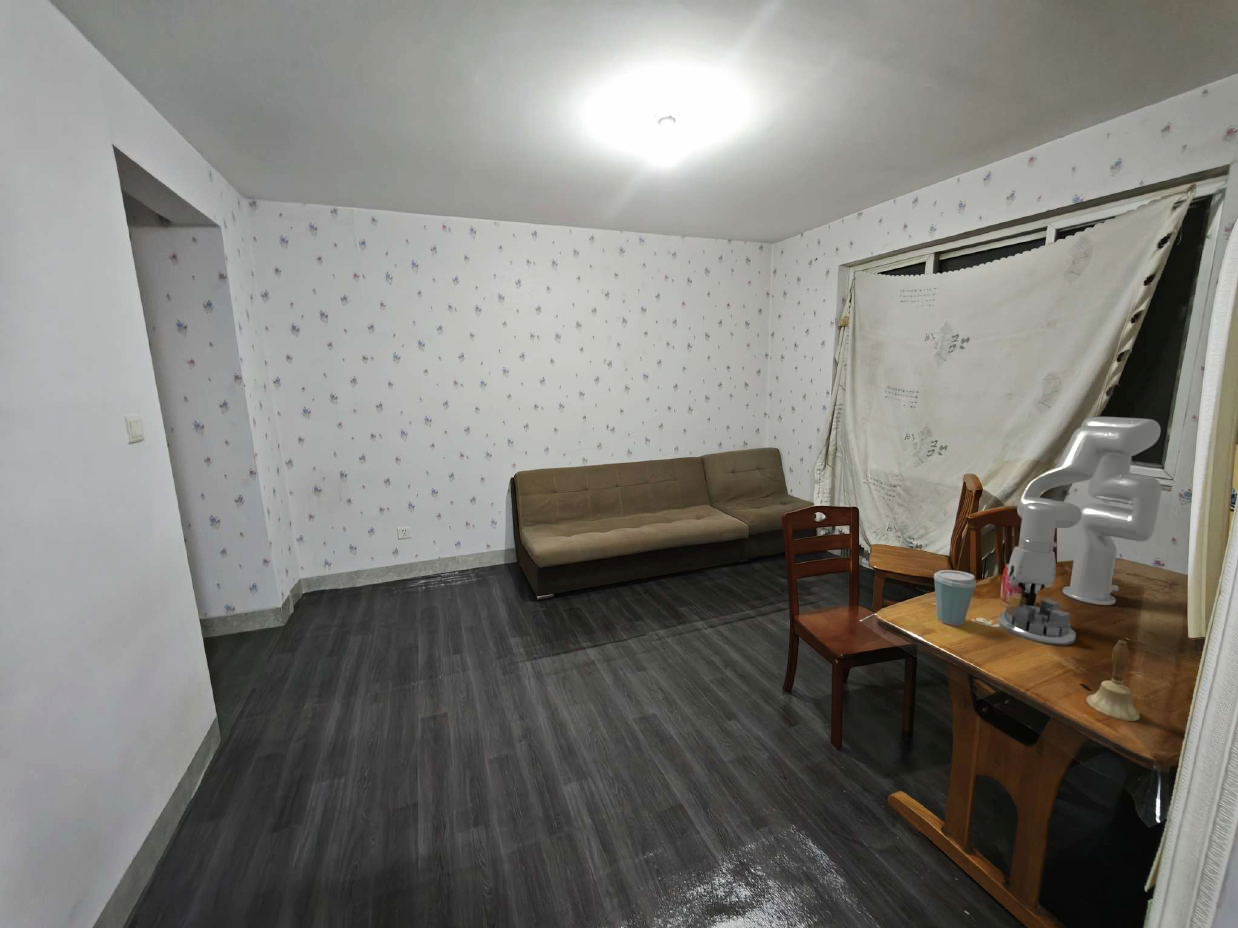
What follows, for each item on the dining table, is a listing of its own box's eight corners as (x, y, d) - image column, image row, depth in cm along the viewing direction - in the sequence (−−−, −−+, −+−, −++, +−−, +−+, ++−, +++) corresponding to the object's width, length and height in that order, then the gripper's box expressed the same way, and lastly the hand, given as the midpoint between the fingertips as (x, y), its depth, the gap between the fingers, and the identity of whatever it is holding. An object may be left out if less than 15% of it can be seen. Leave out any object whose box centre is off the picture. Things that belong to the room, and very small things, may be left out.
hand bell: (1128, 725, 101) (1140, 655, 98) (1078, 702, 108) (1088, 636, 106) (1147, 714, 104) (1160, 646, 102) (1097, 692, 112) (1108, 628, 109)
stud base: (1028, 613, 150) (1030, 597, 149) (1091, 641, 134) (1094, 624, 133) (983, 619, 147) (985, 603, 146) (1042, 648, 130) (1044, 631, 129)
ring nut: (1024, 609, 149) (1027, 591, 148) (1080, 630, 136) (1083, 610, 135) (993, 617, 144) (995, 598, 143) (1048, 640, 131) (1051, 619, 130)
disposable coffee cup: (925, 621, 146) (930, 574, 143) (933, 609, 153) (937, 564, 151) (968, 633, 138) (974, 583, 136) (974, 619, 146) (979, 572, 144)
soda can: (1017, 597, 161) (1021, 563, 159) (1033, 606, 154) (1038, 571, 152) (994, 596, 162) (998, 562, 160) (1009, 606, 155) (1013, 570, 153)
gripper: (1056, 542, 143) (1048, 600, 147) (999, 539, 146) (992, 596, 149) (1074, 550, 136) (1065, 611, 139) (1013, 548, 139) (1006, 607, 142)
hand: (1027, 603), depth 144 cm, fingers closed
